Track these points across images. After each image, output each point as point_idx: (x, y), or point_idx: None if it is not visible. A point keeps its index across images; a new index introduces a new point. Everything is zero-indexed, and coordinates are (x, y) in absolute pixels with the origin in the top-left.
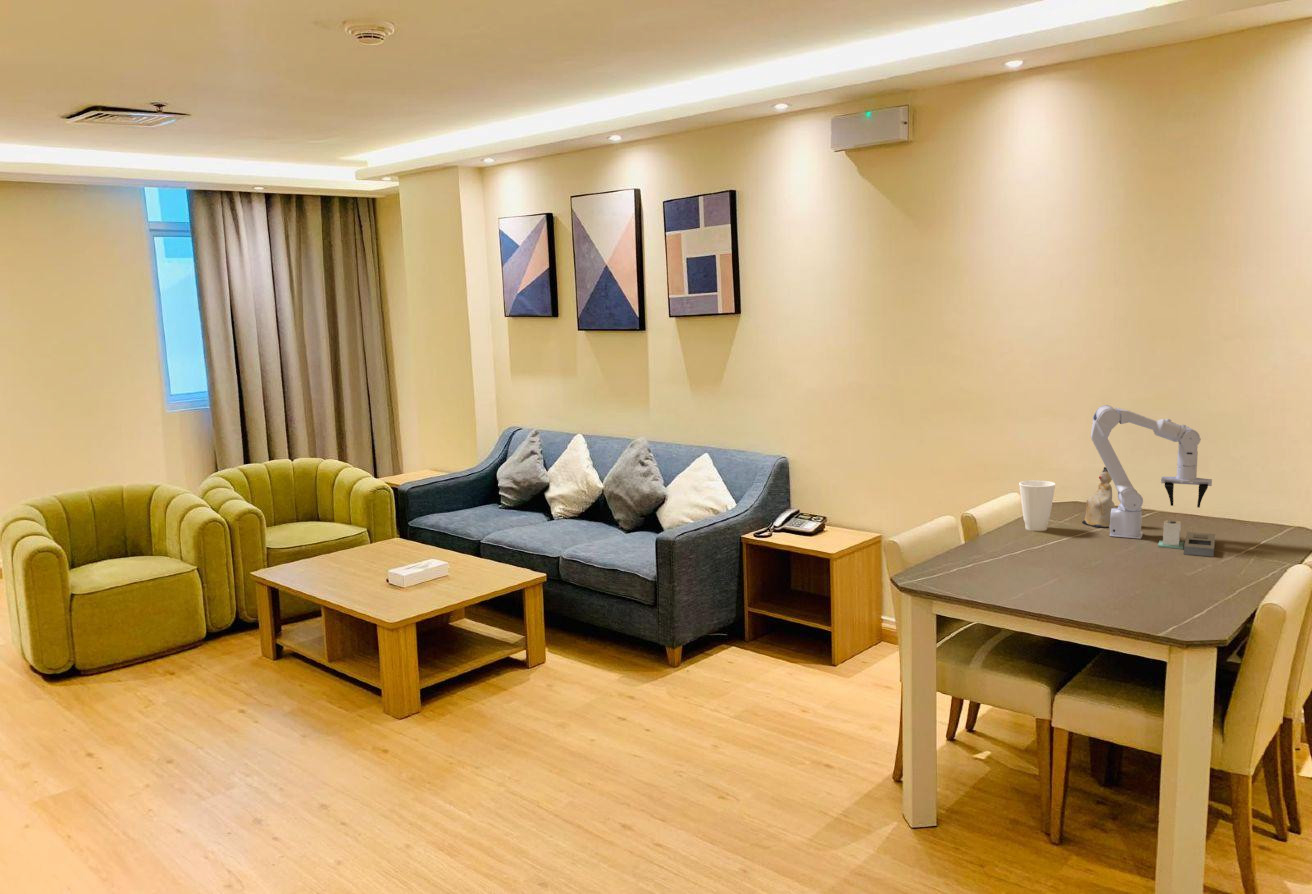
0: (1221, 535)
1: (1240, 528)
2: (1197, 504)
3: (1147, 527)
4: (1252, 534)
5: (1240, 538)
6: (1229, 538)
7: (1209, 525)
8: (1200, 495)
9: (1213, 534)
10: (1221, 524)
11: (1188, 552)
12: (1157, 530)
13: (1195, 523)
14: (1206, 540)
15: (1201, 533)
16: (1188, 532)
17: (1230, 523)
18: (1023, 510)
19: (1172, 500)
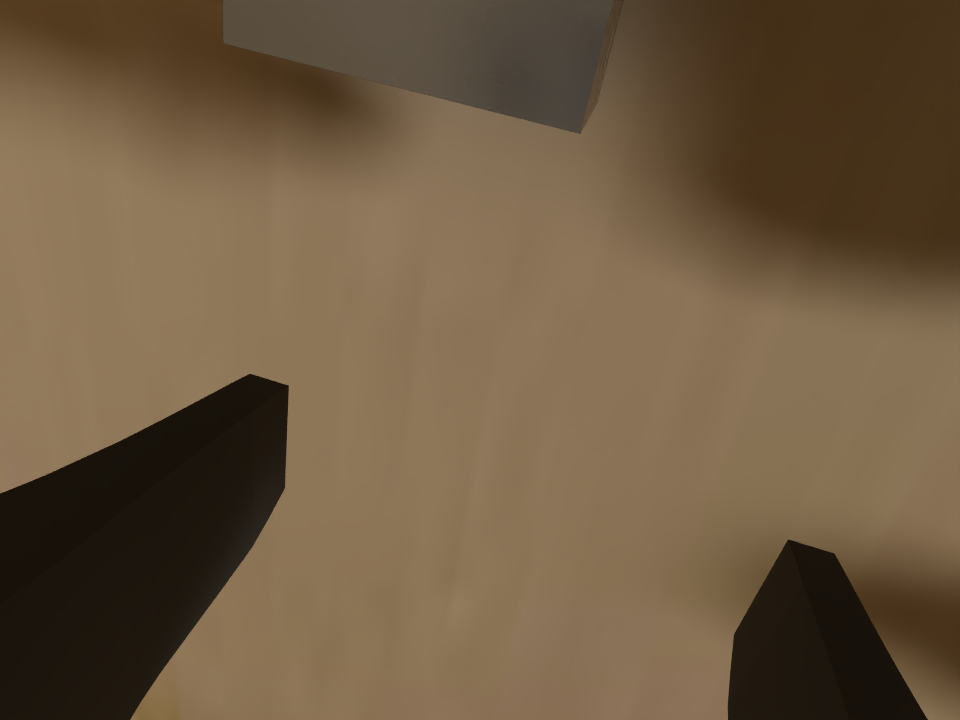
0: (222, 341)
1: None
2: (249, 410)
3: (880, 631)
4: (6, 386)
5: (62, 234)
6: (149, 224)
7: (312, 643)
8: (8, 535)
9: (245, 18)
10: (234, 658)
11: None
12: (818, 522)
13: (406, 699)
14: None
15: (394, 62)
16: (567, 102)
17: (182, 674)
18: None
19: (830, 641)
